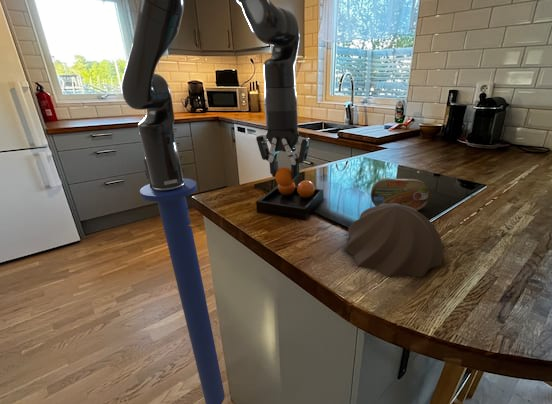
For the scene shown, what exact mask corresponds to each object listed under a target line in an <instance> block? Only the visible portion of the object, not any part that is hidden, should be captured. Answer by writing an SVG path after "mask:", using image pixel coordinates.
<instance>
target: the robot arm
mask: <svg viewBox="0 0 552 404" xmlns="http://www.w3.org/2000/svg"><path fill="white" fill-rule="evenodd" d="M235 1H236V3H237V4H238V5H239V6H240V8H241V9H242V12H243V15H244V17H245V19H246V22H247V23H248V25H249V28H250V30H251V32H252V33H253V35H254V36H255V37H256V38H257V39H258V40H259V41H260V42H262V43H263V44H264V45H265V44H266V45H267V46H268V45H269V46H272V48H271V49H272V50H271V57H270V58H267V59H266V60H264V62H263V66H262V67H263V68H262V69H263V71H262V73H263V84H264V86H263V88H264V93H263V94H264V95H263V101H264V103H263V104H264V105H263V106H264V114H265V127H266V133H265V134H260V135H258V136H256V138H255V140H256V144H257V146H258V150H259V153H260V156H261V159H262V160H263V161H267V162H268V163H269V173H270V175H271V176H272V178H275V174H276V172H277V170H278V169H279V163H278V162H279V161H278V156H279V153H280V152H284V153H286V155H287V157H288V158H289V160H290V162H291V164H290V169H291V174H292V179H294V180H296V179H297V178H298V177H299V176H300V164H302V163H304V162H305V161H306V160H307V158H308V154H309V148H310V144H311V138H310V137H304V136H301V135H300V134H299V123H298V118H299V117H298V95H297V91H296V89H297V88H296V69H295V68H296V63H297V62H296V61H297V58H298V51H299V46H300V36H301V35H300V34H301V33H300V32H301V31H300V25H299V22H298V18H297V16H296V15H295V14H294V12H292V11H290V9H286V8H283V7H279V6H276V5H275V4H274V3H273V2H272V0H235ZM184 11H185V0H139V3H138V8H137V15H136V24H135V29H134V34H133V37H132V38H133V39H132V43H131V48H130V52H129V56H128V60H127V62H126V66H125V69H124V73H123V75H122V79H121V80H122V81H121V94H122V98H123V100H124V102H125V103H126V104H127V106H129V108H131V109H134V110H141V111H143V110H146V115H145V117H143V119H142V120H141V121H140V122H139V123H138V124H137V129H138V133H139V138H140V141H141V146H142V149H143V153H144V158H143V164H144V168H145V175H146V179H147V180H148V184H150V188H152V189H153V190H154V191H158V192H166V191H173V190H177V189H179V188H182V187H183V186H184V185H185V183H184V180H183V178H184V176H183V169H182V165H181V159H180V154H179V150H178V149H179V148H178V145H177V140H176V134H175V129H174V124H175V112H174V106H173V98H172V92H171V89H170V86H169V84H168V82H167V80H166V79H165V78H164V77H163V76H162V75H160V74H158V73H155V72H156V68H157V66H158V63H159V62H160V59H161V58H162V57H163V56H164V54H165V53H166V52H167V51H168V49H170V47H171V46H172V45H173V43H174V42H175V40H176V38H177V36H178V35H179V31H180V28H181V25H182V20H183V15H184ZM268 143H269V144H270V149H269V146H268ZM298 143H299V144H298ZM297 144H298V145H299V147H300V149H299V151H298V149H297Z"/></svg>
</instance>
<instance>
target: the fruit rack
mask: <svg viewBox="0 0 552 404" xmlns="http://www.w3.org/2000/svg"><path fill="white" fill-rule="evenodd" d="M323 201H324V189H319V188H316V186H315V184H314V183H313V182H312V181H310V180H307V179H306V180H302V181H300V182H299V183H298V184H297V185H296V183H295V181H294V182H293V183H292V184H291V185H289V186H286V187H284V186H281V185H279V184H278V183H277V186H275V187H274V188H273V189H271V190H270V191H269V192H267V193H266V194H264V195H262V196H261V197H260V198H259V199H258V200H256V201H255V204H256V213H260V214H266V215H272V216H278V217H284V218H290V219H297V220H302V221H306V220H307V219H308V218H309V217H310V216H311V214H313V212H314V211H315V210H316V209H317V208H318V206H319V205H320V204H321V203H322V202H323Z"/></svg>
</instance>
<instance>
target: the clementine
mask: <svg viewBox="0 0 552 404" xmlns="http://www.w3.org/2000/svg"><path fill="white" fill-rule="evenodd" d="M274 179H275V182H276V183H277V185H278V184H279V185H281V186H284V187H286V186H289V185H291V184H292V183H293V182H294V183H295V179H292V174H291V167H289V166H282V167H280V168H278V170H277V172H276V174H275V177H274Z"/></svg>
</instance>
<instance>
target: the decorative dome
mask: <svg viewBox="0 0 552 404" xmlns="http://www.w3.org/2000/svg"><path fill="white" fill-rule="evenodd" d="M347 233H348V236H349V240H348V242H347V243H346V245H345V247H344V251H345V252H347V254H350V255H351V256H352V257H354V260H355V263H356V266H357V267H360V268H365V269H369V270H374V271H376V272H378V273H380V274H381V275H382V276H385V277H387V278H395V277H399V276H413V277H420V278H422V277H424V276H426V274H427V272H428V271H429V270H430V269H432V268H435V267H438V266H442V264H443V257H444V249H443V248H444V247H443V241H442V238H441V236H440V234H439V232H438V229H437V228H436V227H435V225H434V224H433V223H432V222H431V221H430V220H429V219H428V217H426V216H425V215H424V214H422V212H419V211H418V210H417V211H416V210H415V209H413V208H412V207H410V206H406V205H400V204H397V203H393V204H388V203H384V204H380V205H379V206H372V207H369V208H366V209H365V210H363V211H362V212H361V213H360V215H359V217H358V219H357V220H355V221H353V222H352V223H351V224H350V225H349V226H348V228H347Z"/></svg>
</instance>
